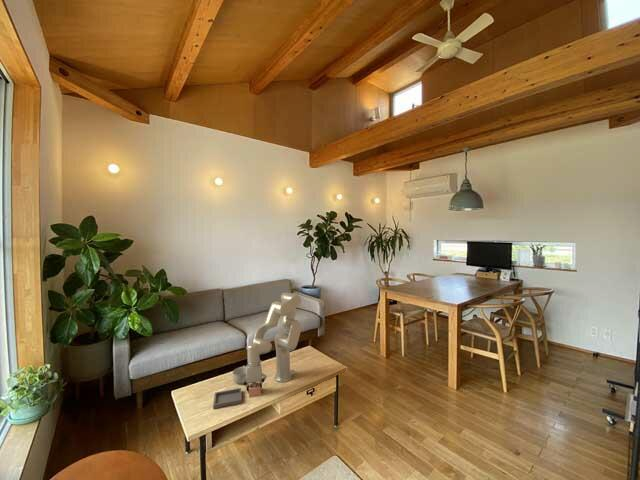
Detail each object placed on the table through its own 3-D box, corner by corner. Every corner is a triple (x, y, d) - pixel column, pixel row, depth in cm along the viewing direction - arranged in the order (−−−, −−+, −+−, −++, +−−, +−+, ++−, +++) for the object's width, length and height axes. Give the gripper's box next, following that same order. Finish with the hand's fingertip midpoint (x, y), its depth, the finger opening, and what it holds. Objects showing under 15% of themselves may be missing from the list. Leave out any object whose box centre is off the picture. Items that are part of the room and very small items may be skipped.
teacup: (244, 386, 179) (244, 375, 178) (229, 385, 181) (229, 373, 181) (253, 375, 192) (253, 364, 192) (240, 374, 195) (239, 363, 194)
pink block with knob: (259, 388, 176) (259, 381, 176) (260, 395, 169) (260, 387, 169) (248, 391, 174) (248, 383, 174) (249, 397, 167) (248, 389, 167)
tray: (241, 391, 173) (241, 387, 173) (241, 403, 161) (241, 399, 161) (214, 396, 169) (214, 392, 169) (213, 409, 156) (213, 405, 156)
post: (256, 391, 174) (256, 381, 173) (256, 393, 171) (256, 383, 170) (251, 392, 173) (251, 382, 172) (252, 394, 170) (251, 384, 170)
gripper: (266, 358, 177) (267, 384, 178) (239, 362, 172) (240, 389, 172) (268, 363, 170) (268, 391, 171) (239, 368, 165) (240, 396, 165)
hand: (254, 390), depth 172 cm, fingers closed on pink block with knob, 7 cm apart
